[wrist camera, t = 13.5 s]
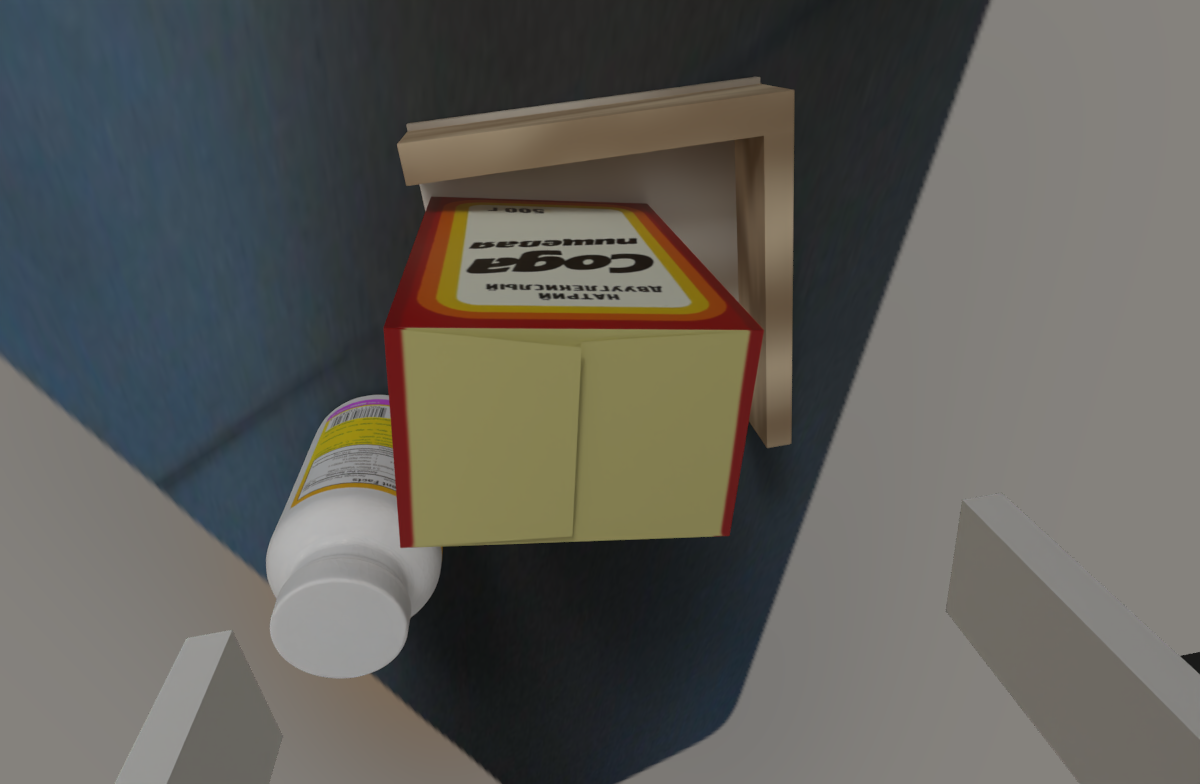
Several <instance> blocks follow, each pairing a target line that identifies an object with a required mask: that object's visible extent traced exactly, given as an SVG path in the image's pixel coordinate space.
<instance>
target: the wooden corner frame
mask: <svg viewBox="0 0 1200 784" xmlns="http://www.w3.org/2000/svg"><path fill="white" fill-rule="evenodd" d="M406 126H407V130H408V132H407V133H406V134H405V135H404V137H403V138H402V139H401V140H400V141H399V142H398V144H397V147H398V151H399V155H400V160H401V164H402V168H403V173H404V177H405V181H406V186H410V185H417V184H420V189H421V193H422V198H423V202H424V207H425V211H426V209H427V206H428V204H429V201H430V198H431V197H462V198H493V199H523V200H554V201H585V202H615V203H646V204H648V205H649V206H650V207H651V208H652V209H653V210H654V211H655V213H656V214H657V215H658V216H659V217H660V218H661V219H662V220H663V221H664V222H665V223H666V224H667V226H668V227H669V228H670V229H671V230H672V231H673V232H674V233H675V234H676V235H677V236H678V237H679V239H680V240H681V241H682V242H683V243H684V244H685V245H686V246H687V247H688V248H689V249H690V250H691V252H692V253H693V254H694V255H695V256H696V257H697V258H698V259H699V260H700V261H701V262H702V263H703V265H704V266H705V267H706V268H707V269H708V270H709V271H710V272H711V273H712V274H713V275H714V276H715V278H716V279H717V280H718V281H719V282H720V283H721V284H722V285H723V286H724V287H725V288H726V289H727V291H728V292H729V293H730V294H731V295H732V296H733V297H734V298H735V299H736V300H737V301H738V302H739V304H740V305H741V306H742V307H743V308H744V309H745V310H746V311H747V312H748V313H749V314H750V315H751V317H752V318H753V319H754V320H755V321H756V322H757V323H758V324H759V325H760V326H761V327H762V328H763V330H764V334H763V340H762V346H761V351H760V357H759V363H758V369H757V375H756V381H755V387H754V393H753V399H752V405H751V411H750V417H749V422H750V423H751V425H752V426H753V428H754V429H755V431H756V432H757V434H758V435H759V437H760V438H761V440H762V441H763V443H764V444H765V446H766V447H767V448H770V447H776V446H782V445H788V444H791V422H792V309H793V196H794V90H792V89H786V88H781V87H775V86H770V85H765V84H760V77H749V78H742V79H734V80H727V81H719V82H712V83H705V84H697V85H690V86H682V87H675V88H667V89H660V90H653V91H645V92H638V93H630V94H623V95H615V96H608V97H601V98H593V99H586V100H578V101H571V102H563V103H556V104H549V105H541V106H534V107H526V108H519V109H511V110H504V111H497V112H489V113H482V114H474V115H467V116H460V117H452V118H445V119H437V120H430V121H422V122H415V123H408V124H407V125H406Z"/></svg>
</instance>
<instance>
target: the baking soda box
mask: <svg viewBox="0 0 1200 784" xmlns="http://www.w3.org/2000/svg"><path fill="white" fill-rule="evenodd" d="M763 334H764V330H763V328H762V327H761V326H760V325H759V324H758V323H757V322H756V321H755V320H754V319H753V318H752V317H751V315H750V314H749V313H748V312H747V311H746V310H745V309H744V308H743V307H742V306H741V305H740V304H739V302H738V301H737V300H736V299H735V298H734V297H733V296H732V295H731V294H730V293H729V292H728V291H727V289H726V288H725V287H724V286H723V285H722V284H721V283H720V282H719V281H718V280H717V279H716V278H715V276H714V275H713V274H712V273H711V272H710V271H709V270H708V269H707V268H706V267H705V266H704V265H703V263H702V262H701V261H700V260H699V259H698V258H697V257H696V256H695V255H694V254H693V253H692V252H691V250H690V249H689V248H688V247H687V246H686V245H685V244H684V243H683V242H682V241H681V240H680V239H679V237H678V236H677V235H676V234H675V233H674V232H673V231H672V230H671V229H670V228H669V227H668V226H667V224H666V223H665V222H664V221H663V220H662V219H661V218H660V217H659V216H658V215H657V214H656V213H655V211H654V210H653V209H652V208H651V207H650V206H649V205H648V204H646V203H615V202H585V201H554V200H523V199H493V198H462V197H431V198H430V201H429V204H428V206H427V209H426V212H425V215H424V217H423V220H422V223H421V226H420V229H419V231H418V234H417V237H416V240H415V242H414V245H413V248H412V251H411V253H410V256H409V259H408V262H407V265H406V267H405V270H404V273H403V276H402V278H401V281H400V284H399V287H398V289H397V292H396V295H395V298H394V301H393V303H392V306H391V309H390V312H389V314H388V317H387V320H386V323H385V325H384V338H385V351H386V365H387V378H388V391H389V404H390V417H391V431H392V444H393V457H394V470H395V484H396V497H397V510H398V523H399V536H400V548H414V547H441V546H468V545H496V544H523V543H550V542H577V541H604V540H632V539H659V538H686V537H713V536H729V535H730V529H731V524H732V518H733V512H734V506H735V500H736V494H737V488H738V482H739V476H740V470H741V464H742V458H743V452H744V446H745V440H746V435H747V429H748V423H749V417H750V411H751V405H752V399H753V393H754V387H755V381H756V375H757V369H758V363H759V357H760V351H761V346H762V340H763Z"/></svg>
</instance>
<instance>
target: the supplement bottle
mask: <svg viewBox="0 0 1200 784" xmlns="http://www.w3.org/2000/svg"><path fill="white" fill-rule="evenodd" d="M442 550H443V546H441V547H414V548H400V536H399V523H398V510H397V497H396V484H395V470H394V457H393V444H392V431H391V417H390V404H389V395H369V396H363V397H359V398H356V399H353V400H350V401H348V402H346V403H344V404H342V405H341V406H339V407H338V408H336V409H335V410H334V411H332V412H331V413H330V414H329V415H328V416H327V417H326V418H325V419H324V421H323V422H322V424H321V425H320V427H319V429H318V431H317V433H316V435H315V437H314V440H313V442H312V444H311V447H310V449H309V451H308V454H307V456H306V459H305V461H304V463H303V466H302V468H301V471H300V473H299V475H298V478H297V480H296V482H295V485H294V487H293V490H292V492H291V494H290V497H289V499H288V501H287V504H286V506H285V508H284V511H283V513H282V515H281V518H280V520H279V522H278V524H277V526H276V529H275V531H274V533H273V536H272V538H271V540H270V543H269V547H268V550H267V556H266V570H267V578H268V581H269V584H270V587H271V589H272V592H273V594H274V596H275V597H276V599H277V600H276V604H275V607H274V610H273V613H272V616H271V621H270V634H271V639H272V641H273V643H274V646H275V647H276V649H277V651H278V652H279V653H280V655H281V656H282V657H283V658H284V659H285V660H286V661H287V662H289V663H290V664H291V665H293V666H294V667H296V668H298V669H300V670H302V671H304V672H307V673H310V674H313V675H317V676H321V677H327V678H353V677H359V676H363V675H367V674H369V673H372V672H374V671H377V670H379V669H381V668H382V667H384V666H386V665H387V664H388V663H390V662H391V661H392V660H393V659H394V658H395V657H396V656H397V655H398V654H399V653H400V651H401V649H402V648H403V646H404V644H405V641H406V639H407V635H408V628H409V622H410V618H411V617H412V616H413V615H415V614H416V613H417V612H418V611H419V610H420V609H421V608H422V607H423V606H424V605H425V604H426V602H427V601H428V600H429V598H430V597H431V595H432V593H433V592H434V590H435V588H436V585H437V583H438V580H439V576H440V570H441V562H442Z"/></svg>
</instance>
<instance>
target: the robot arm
mask: <svg viewBox="0 0 1200 784" xmlns="http://www.w3.org/2000/svg"><path fill="white" fill-rule="evenodd" d="M946 612H947V613H948V615H949V616H950V617H951V618H952V620H953V621H954V622H955V623H956V625H957V626H958V627H959V629H960V630H961V631H962V632H963V634H964V635H965V636H966V638H967V639H968V640H969V642H970V643H971V644H972V646H973V647H974V648H975V649H976V651H977V652H978V653H979V655H980V656H981V657H982V658H983V660H984V661H985V662H986V664H987V665H988V666H989V667H990V669H991V670H992V671H993V673H994V674H995V675H996V676H997V678H998V679H999V680H1000V682H1001V683H1002V684H1003V686H1004V687H1005V688H1006V689H1007V691H1008V692H1009V693H1010V695H1011V696H1012V697H1013V698H1014V700H1015V701H1016V702H1017V704H1018V705H1019V706H1020V707H1021V709H1022V710H1023V711H1024V713H1025V714H1026V715H1027V717H1028V718H1029V719H1030V720H1031V722H1032V723H1033V724H1034V726H1035V727H1036V728H1037V729H1038V731H1039V732H1040V733H1041V734H1042V736H1043V737H1044V738H1045V740H1046V741H1047V742H1048V744H1049V745H1050V746H1051V748H1052V749H1053V750H1054V751H1055V753H1056V754H1057V755H1058V756H1059V758H1060V759H1061V760H1062V762H1063V763H1064V764H1065V765H1066V767H1067V768H1068V770H1069V771H1070V772H1071V773H1072V775H1073V776H1074V777H1075V778H1076V780H1077V781H1078V782H1079V784H1200V652H1198V653H1193V654H1188V655H1183V656H1179V655H1178V654H1177V653H1176V652H1175V651H1174V650H1173V649H1172V648H1171V647H1169V646H1168V645H1167V644H1166V643H1165V642H1164V641H1163V640H1162V639H1161V638H1160V637H1158V636H1157V635H1156V634H1155V633H1154V632H1153V631H1152V630H1151V629H1150V628H1149V627H1148V626H1147V625H1145V624H1144V623H1143V622H1142V621H1141V620H1140V619H1139V618H1138V617H1137V616H1136V615H1135V614H1133V613H1132V612H1131V611H1130V610H1129V609H1128V608H1127V607H1126V606H1125V605H1124V604H1122V603H1121V602H1120V601H1119V600H1118V599H1117V598H1116V597H1115V596H1114V595H1113V594H1112V593H1111V592H1110V591H1108V590H1107V589H1106V588H1105V587H1104V586H1103V585H1102V584H1101V583H1100V582H1099V581H1098V580H1097V579H1095V578H1094V577H1093V576H1092V575H1091V574H1090V573H1089V572H1088V571H1087V570H1085V569H1084V568H1083V567H1082V566H1081V565H1080V564H1079V563H1078V562H1077V561H1076V560H1075V559H1073V557H1071V556H1070V555H1069V554H1068V553H1067V552H1066V551H1065V550H1064V549H1063V548H1062V547H1061V546H1059V545H1058V544H1057V543H1056V542H1055V541H1054V540H1053V539H1052V538H1051V537H1050V536H1048V534H1046V533H1045V532H1044V531H1043V530H1042V529H1041V528H1040V527H1039V526H1038V525H1037V524H1036V523H1034V522H1033V521H1032V520H1031V519H1030V518H1029V517H1028V516H1027V515H1026V514H1025V513H1023V512H1022V511H1021V510H1020V509H1019V508H1018V507H1017V506H1016V505H1015V504H1014V503H1013V502H1012V501H1010V500H1009V499H1008V498H1007V497H1006V496H1005V495H1004V494H1003V493H997V494H992V495H986V496H980V497H975V498H969V499H963V500H962V505H961V512H960V518H959V525H958V532H957V538H956V545H955V552H954V559H953V565H952V572H951V579H950V585H949V592H948V599H947V605H946ZM282 737H283V735H282V733H281V731H280V729H279V727H278V725H277V723H276V721H275V719H274V717H273V714H272V712H271V710H270V708H269V706H268V704H267V702H266V700H265V698H264V696H263V694H262V691H261V689H260V687H259V685H258V683H257V681H256V679H255V677H254V674H253V673H252V670H251V668H250V666H249V664H248V662H247V660H246V658H245V656H244V653H243V651H242V649H241V647H240V645H239V643H238V641H237V639H236V637H235V635H234V632H233V630H229V631H224V632H218V633H212V634H206V635H201V636H195V637H190V638H186V640H185V642H184V644H183V646H182V648H181V650H180V652H179V654H178V656H177V658H176V660H175V662H174V664H173V666H172V668H171V670H170V672H169V674H168V677H167V679H166V681H165V682H164V684H163V686H162V688H161V691H160V693H159V695H158V697H157V699H156V701H155V703H154V705H153V707H152V709H151V711H150V713H149V715H148V717H147V719H146V721H145V723H144V725H143V727H142V729H141V731H140V733H139V735H138V737H137V739H136V741H135V743H134V745H133V747H132V749H131V751H130V753H129V755H128V757H127V760H126V761H125V763H124V765H123V767H122V769H121V771H120V773H119V775H118V777H117V779H116V781H115V783H114V784H269V782H270V778H271V775H272V771H273V768H274V765H275V761H276V758H277V754H278V751H279V747H280V744H281V741H282Z"/></svg>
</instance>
